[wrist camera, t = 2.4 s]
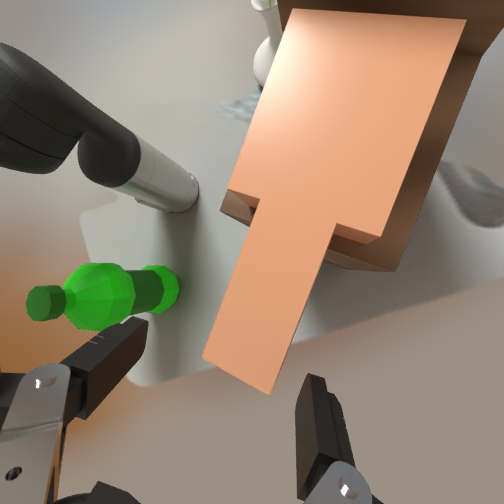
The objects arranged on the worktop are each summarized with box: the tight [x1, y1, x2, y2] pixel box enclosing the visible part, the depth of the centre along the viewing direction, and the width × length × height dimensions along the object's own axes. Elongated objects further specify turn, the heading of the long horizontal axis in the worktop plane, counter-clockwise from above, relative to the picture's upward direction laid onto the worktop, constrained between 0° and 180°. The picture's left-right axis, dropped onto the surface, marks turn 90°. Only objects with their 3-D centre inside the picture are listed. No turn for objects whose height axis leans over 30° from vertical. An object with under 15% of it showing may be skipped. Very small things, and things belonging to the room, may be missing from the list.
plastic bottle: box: [26, 263, 180, 331], centre depth 41 cm, size 10×10×25 cm
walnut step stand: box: [220, 0, 504, 272], centre depth 26 cm, size 25×12×38 cm, turn 159°
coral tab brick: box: [201, 8, 467, 396], centre depth 14 cm, size 19×8×4 cm, turn 159°
